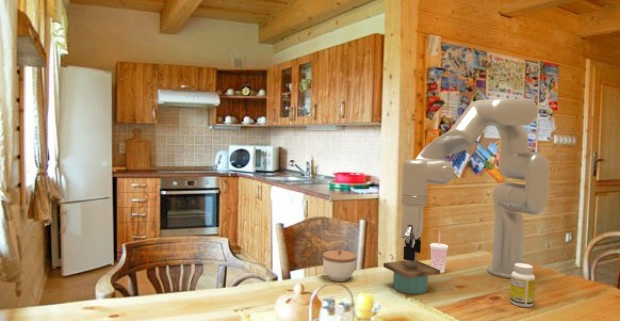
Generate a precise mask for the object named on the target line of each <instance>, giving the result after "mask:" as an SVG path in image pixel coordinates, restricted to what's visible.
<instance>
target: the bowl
mask: <svg viewBox="0 0 620 321" xmlns="http://www.w3.org/2000/svg"><path fill="white" fill-rule="evenodd" d="M392 277H393V281H392V282H393V283H392V286H393V287H392V288H393V289H394V290H396V291H397V292H400V293H404V294H407V295H409V294H411V295H419V294H425V293H426V292H427V291H428V288H429V286H428V284H429V276H422V277H415V278H406V277H404V276H402V275H399V274H397V273H395V272H393V276H392Z"/></svg>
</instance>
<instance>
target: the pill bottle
mask: <svg viewBox="0 0 620 321" xmlns="http://www.w3.org/2000/svg"><path fill="white" fill-rule="evenodd" d="M533 268H534V267H533V265H529V264H524V263H516V264H515V265H514V269H515V271H513V272H512V274H511V278H510V289H509V290H510V292H509V301H510V303H511V304H512V305H514V306H518V307H523V308H530V307H531V308H532V307H533V306H534V305H535V289H536V288H535V287H536V285H535V284H536V276H535V274H533V271H534V270H533Z"/></svg>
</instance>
